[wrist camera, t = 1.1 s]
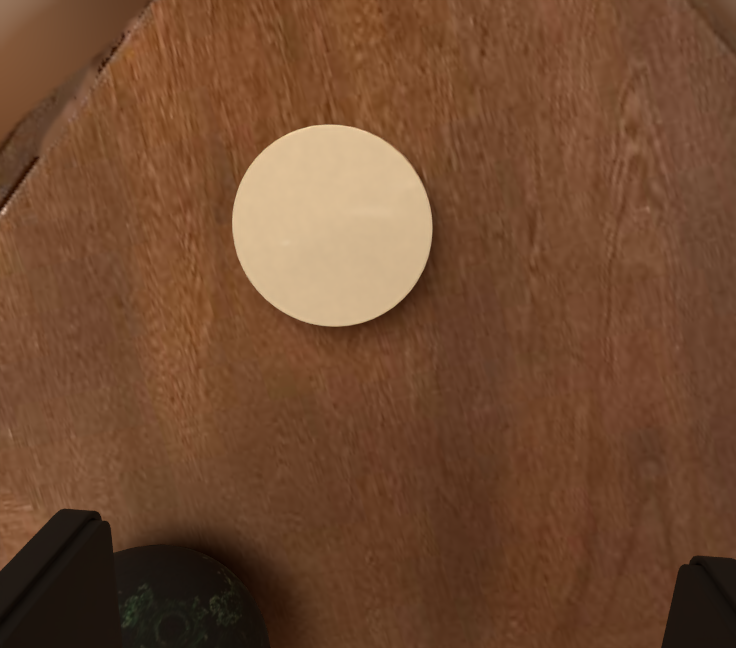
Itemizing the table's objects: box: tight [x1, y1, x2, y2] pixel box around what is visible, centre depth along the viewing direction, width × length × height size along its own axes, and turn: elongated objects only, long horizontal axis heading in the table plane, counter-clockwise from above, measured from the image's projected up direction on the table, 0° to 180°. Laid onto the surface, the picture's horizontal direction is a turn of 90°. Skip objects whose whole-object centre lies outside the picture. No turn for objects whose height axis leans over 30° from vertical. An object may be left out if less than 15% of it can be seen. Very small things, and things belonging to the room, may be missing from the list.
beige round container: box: [232, 124, 433, 327], centre depth 22 cm, size 7×7×3 cm
